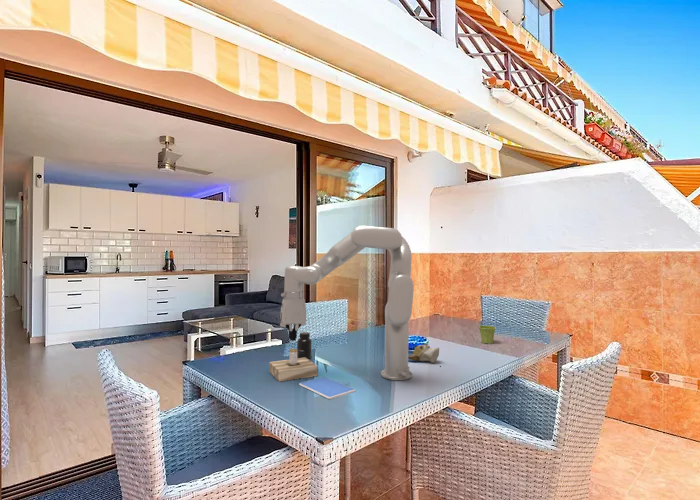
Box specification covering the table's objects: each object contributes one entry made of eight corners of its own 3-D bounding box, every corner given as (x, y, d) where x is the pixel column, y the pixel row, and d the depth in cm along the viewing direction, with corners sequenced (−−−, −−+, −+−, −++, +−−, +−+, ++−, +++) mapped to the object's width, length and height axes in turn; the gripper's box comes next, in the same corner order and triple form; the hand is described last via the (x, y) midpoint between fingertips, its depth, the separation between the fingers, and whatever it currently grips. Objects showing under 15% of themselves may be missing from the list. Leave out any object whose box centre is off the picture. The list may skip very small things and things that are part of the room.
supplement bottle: (297, 361, 177) (298, 335, 177) (295, 357, 184) (296, 331, 184) (312, 360, 179) (312, 334, 179) (310, 356, 186) (310, 331, 186)
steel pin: (298, 374, 159) (298, 350, 159) (290, 375, 157) (290, 350, 157) (295, 372, 161) (295, 348, 161) (288, 373, 160) (288, 349, 160)
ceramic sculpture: (435, 346, 171) (403, 344, 178) (436, 366, 171) (404, 363, 178) (442, 341, 180) (411, 339, 188) (443, 360, 180) (412, 357, 187)
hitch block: (317, 375, 157) (317, 366, 157) (279, 381, 149) (279, 371, 149) (305, 366, 169) (305, 357, 169) (269, 371, 162) (269, 362, 162)
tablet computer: (297, 386, 146) (297, 382, 146) (324, 379, 155) (324, 375, 155) (329, 401, 132) (329, 397, 132) (356, 392, 140) (356, 389, 140)
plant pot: (474, 341, 219) (474, 326, 219) (488, 340, 222) (488, 325, 222) (485, 345, 210) (485, 329, 210) (499, 344, 213) (499, 328, 213)
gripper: (278, 297, 152) (277, 344, 152) (313, 296, 159) (312, 340, 159) (273, 295, 159) (272, 339, 159) (307, 294, 166) (306, 336, 166)
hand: (292, 340), depth 159 cm, fingers closed
